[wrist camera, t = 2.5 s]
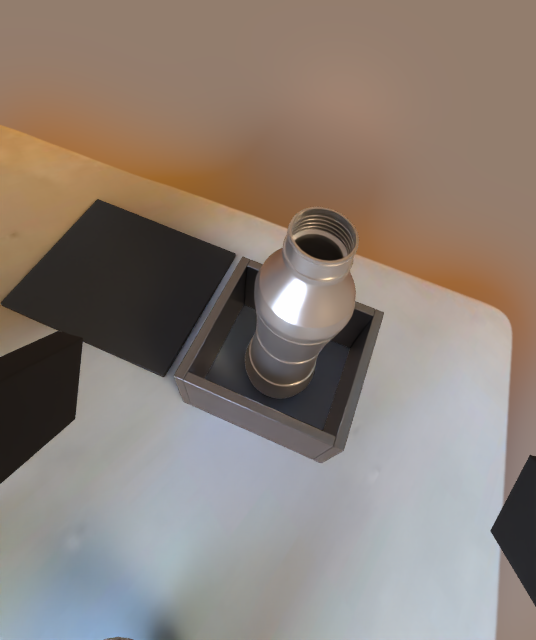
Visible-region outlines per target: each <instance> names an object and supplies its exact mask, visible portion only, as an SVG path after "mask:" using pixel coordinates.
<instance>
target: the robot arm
mask: <svg viewBox="0 0 536 640" xmlns="http://www.w3.org/2000/svg"><path fill="white" fill-rule="evenodd" d="M82 344H83V338H82V337H79V336H75V335H71V334H67V333H63V332H59V331H57V332H55V333H53V334H50V335H48V336H46V337H44V338H42V339H39V340H37V341H35V342H33V343H31V344H28V345H26V346H24V347H22V348H19V349H17V350H15V351H13V352H11V353H8V354H6V355H4V356H2V357H0V484H1V483H2V482H3V481H4V480H5V479H7V478H8V477H9V476H10V475H11V474H12V473H14V472H15V471H16V470H17V469H18V468H19V467H20V466H22V465H23V464H24V463H25V462H26V461H27V460H29V459H30V458H31V457H32V456H33V455H34V454H35V453H37V452H38V451H39V450H40V449H41V448H42V447H43V446H45V445H46V444H47V443H48V442H49V441H50V440H52V439H53V438H54V437H55V436H56V435H57V434H58V433H60V432H61V431H62V430H63V429H64V428H65V427H66V426H68V425H69V424H70V423H71V422H72V421H73V420H75V415H76V405H77V395H78V384H79V374H80V364H81V354H82ZM491 533H492V534H493V536H494V538H495V539H496V541H497V543H498V544H499V546H500V548H501V549H502V551H503V553H504V554H505V556H506V558H507V559H508V561H509V563H510V564H511V566H512V568H513V569H514V571H515V573H516V574H517V576H518V578H519V579H520V581H521V583H522V584H523V586H524V588H525V589H526V591H527V593H528V594H529V596H530V598H531V599H532V601H533V603H534V604H535V606H536V456H532V455H530V456H529V458H528V460H527V462H526V464H525V466H524V467H523V469H522V471H521V473H520V475H519V477H518V479H517V481H516V483H515V485H514V487H513V489H512V490H511V492H510V495H509V496H508V498H507V500H506V502H505V504H504V506H503V508H502V510H501V512H500V513H499V515H498V517H497V519H496V521H495V523H494V525H493V527H492V529H491Z"/></svg>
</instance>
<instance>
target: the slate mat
mask: <svg viewBox="0 0 536 640" xmlns="http://www.w3.org/2000/svg"><path fill="white" fill-rule="evenodd" d="M235 256H236V254H235V253H233V252H230V251H228V250H225V249H222V248H220V247H217V246H215V245H212V244H210V243H207V242H205V241H202V240H200V239H197V238H195V237H192V236H190V235H187V234H185V233H182V232H180V231H177V230H175V229H172V228H169V227H167V226H164V225H162V224H159V223H157V222H154V221H152V220H149V219H147V218H144V217H142V216H139V215H137V214H134V213H132V212H129V211H127V210H124V209H122V208H119V207H117V206H114V205H111V204H109V203H106V202H104V201H101V200H99V199H97V200H96V201H95V202H94V204H93V205H92V206H91V207H90V208H89V209H88V210H87V211H86V212H85V213H84V214H83V215H82V216H81V217H80V219H79V220H78V221H77V222H76V223H75V224H74V225H73V226H72V227H71V228H70V229H69V230H68V231H67V232H66V234H65V235H64V236H63V237H62V238H61V239H60V240H59V241H58V242H57V243H56V244H55V245H54V246H53V247H52V249H51V250H50V251H49V252H48V253H47V254H46V255H45V256H44V257H43V258H42V259H41V260H40V261H39V262H38V264H37V265H36V266H35V267H34V268H33V269H32V270H31V271H30V272H29V273H28V274H27V275H26V276H25V277H24V279H23V280H22V281H21V282H20V283H19V284H18V285H17V286H16V287H15V288H14V289H13V290H12V291H11V292H10V294H9V295H8V296H7V297H6V298H5V299H4V300H3V301H2V302H1V303H0V304H1V305H2V306H4V307H6V308H9V309H11V310H13V311H15V312H18V313H20V314H22V315H24V316H27V317H29V318H31V319H33V320H36V321H38V322H40V323H42V324H45V325H47V326H49V327H51V328H54V329H56V330H58V331H60V332H63V333H67V334H71V335H75V336H79V337H82V338H83V342H85V343H88V344H90V345H92V346H94V347H97V348H99V349H101V350H103V351H106V352H108V353H110V354H112V355H115V356H117V357H119V358H121V359H124V360H126V361H128V362H130V363H133V364H135V365H137V366H139V367H142V368H144V369H146V370H148V371H151V372H153V373H155V374H157V375H160V376H162V377H165V375H166V373H167V372H168V370H169V368H170V367H171V365H172V363H173V362H174V360H175V358H176V356H177V355H178V353H179V351H180V350H181V348H182V346H183V345H184V343H185V341H186V340H187V338H188V336H189V334H190V333H191V331H192V329H193V328H194V326H195V324H196V323H197V321H198V319H199V317H200V316H201V314H202V312H203V311H204V309H205V307H206V306H207V304H208V302H209V301H210V299H211V297H212V295H213V294H214V292H215V290H216V289H217V287H218V285H219V284H220V282H221V280H222V278H223V277H224V275H225V273H226V272H227V270H228V268H229V267H230V265H231V263H232V262H233V260H234V258H235Z"/></svg>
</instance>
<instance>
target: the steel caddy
mask: <svg viewBox="0 0 536 640" xmlns="http://www.w3.org/2000/svg"><path fill="white" fill-rule="evenodd" d="M262 265H263V264H260V263H258V262H255V261H253V260H250V259H248V258H245V257H242V258H241V260H240V262H239V264H238V265H237V267H236V269H235V270H234V272H233V274H232V276H231V277H230V279H229V281H228V283H227V284H226V286H225V288H224V290H223V291H222V293H221V295H220V296H219V298H218V300H217V302H216V303H215V305H214V307H213V309H212V310H211V312H210V314H209V316H208V317H207V319H206V321H205V322H204V324H203V326H202V328H201V329H200V331H199V333H198V335H197V336H196V338H195V340H194V342H193V343H192V345H191V347H190V348H189V350H188V352H187V354H186V355H185V357H184V359H183V361H182V362H181V364H180V366H179V368H178V369H177V371H176V373H175V374H174V378H175V381H176V383H177V386H178V389H179V391H180V394H181V396H182V399H183V401H184V402H185V403H188V404H190V405H192V406H195V407H197V408H199V409H201V410H203V411H206V412H208V413H210V414H212V415H215V416H217V417H219V418H221V419H224V420H226V421H228V422H230V423H232V424H235V425H237V426H239V427H241V428H244V429H246V430H248V431H250V432H253V433H255V434H257V435H259V436H261V437H264V438H266V439H268V440H270V441H273V442H275V443H277V444H279V445H282V446H284V447H286V448H288V449H290V450H293V451H295V452H297V453H299V454H302V455H304V456H306V457H308V458H311V459H313V460H315V461H317V462H319V463H323V462H325V461H326V460H328V459H330V458H332V457H334V456H335V455H337V454H339V453H341V452H343V451H344V448H345V445H346V441H347V438H348V434H349V431H350V428H351V424H352V421H353V417H354V414H355V410H356V407H357V404H358V400H359V397H360V393H361V390H362V387H363V383H364V380H365V376H366V373H367V369H368V366H369V363H370V359H371V356H372V352H373V349H374V346H375V342H376V339H377V335H378V332H379V329H380V325H381V322H382V318H383V315H384V312H382V311H379V310H375V309H374V308H371V307H369V306H366V305H364V304H361V303H359V302H356V301H355V308H354V311H353V314H352V317H351V318H350V320H349V322H348V323H347V324H346V326H345V327H344V328H343V329H342V330H341V331H340V332H339V333H338V334H337V335H336V336H335V337H334V338H333V339H331V341H334V342H336V343H338V344H341V345H343V346H346V347H348V348H350V350H349V353H348V356H347V359H346V362H345V365H344V368H343V371H342V374H341V377H340V380H339V383H338V386H337V389H336V392H335V395H334V398H333V401H332V404H331V407H330V410H329V413H328V416H327V419H326V422H325V425H324V428H323V430H320V429H318V428H316V427H313V426H311V425H309V424H307V423H304V422H302V421H300V420H297V419H295V418H293V417H291V416H288V415H286V414H284V413H282V412H279V411H277V410H275V409H272V408H270V407H268V406H266V405H263V404H261V403H259V402H256V401H254V400H252V399H250V398H247V397H245V396H243V395H240V394H238V393H236V392H234V391H231V390H229V389H227V388H225V387H222V386H220V385H218V384H215V383H213V382H211V381H209V380H206V379H205V377H206V375H207V374H208V372H209V370H210V368H211V366H212V364H213V362H214V360H215V358H216V357H217V355H218V353H219V351H220V349H221V347H222V345H223V343H224V341H225V340H226V338H227V336H228V334H229V332H230V330H231V328H232V326H233V324H234V322H235V321H236V319H237V317H238V315H239V313H240V311H241V309H242V307H243V305H246V306H248V307H251V308H253V309H256V307H255V300H254V287H255V280H256V276H257V274H258V272H259V270H260V268H261V266H262Z"/></svg>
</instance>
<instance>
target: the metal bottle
mask: <svg viewBox="0 0 536 640" xmlns="http://www.w3.org/2000/svg"><path fill="white" fill-rule="evenodd" d="M358 244H359V237H358V233H357V230H356V228H355V226H354V225H353V223H352V222H351V221H350V220H349V219H348V218H347V217H345V216H344V215H343V214H341V213H339V212H337V211H335V210H332V209H329V208H325V207H311V208H306V209H304V210H301V211H299V212H298V213H297V214H296V215H295V216H294V217H293V218H292V220H291V222H290V224H289V227H288V232H287V235H286V237H285V239H284V243H283V248H281V249H279V250H277V251H276V252H274V253H273V254H272V255H270V256H269V257H268V259H267V260H266V261H265V262H264V264H263V265H262V266H261V268H260V270H259V272H258V274H257V276H256V280H255V287H254V300H255V307H256V315H257V326H256V331H255V334H254V336H253V337H252V339H251V341H250V343H249V345H248V347H247V349H246V353H245V368H246V371H247V374H248V377H249V379H250V381H251V383H252V384H253V386H254V387H255V388H256V389H257V390H258V391H260V392H261V393H263V394H264V395H266V396H269V397H272V398H277V399H284V398H289V397H292V396H295V395H296V394H298V393H300V392H301V391H303V390H304V389H305V388H306V387H307V386H308V385H309V383H310V382H311V380H312V378H313V375H314V372H315V368H316V359H317V357H318V354H319V353H320V351H321V350H322V349H323V347H324V346H325V345H326V344H327V343H328V342H329V341H330V340H331V339H333V338H334V337H335V336H336V335H337V334H338V333H339V332H340V331H341V330H342V329H343V328H344V327H345V326H346V324H347V323H348V322H349V320H350V318H351V317H352V314H353V311H354V308H355V295H356V290H355V283H354V280H353V278H352V275H351V273H350V269H351V267H352V264H353V258H354V256H355V254H356V252H357V249H358Z"/></svg>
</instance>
